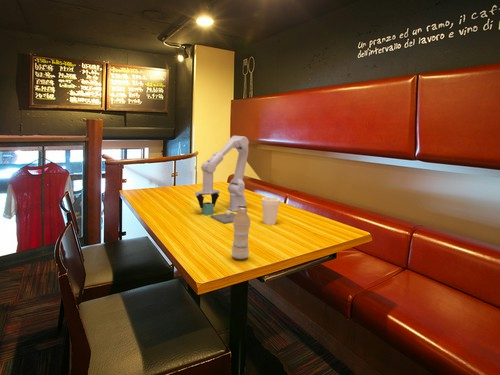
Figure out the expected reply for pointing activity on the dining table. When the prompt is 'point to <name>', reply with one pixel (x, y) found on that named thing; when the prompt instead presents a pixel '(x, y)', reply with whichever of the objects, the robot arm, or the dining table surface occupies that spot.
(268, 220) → the foam cup
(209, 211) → the sleeve
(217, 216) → the stub board
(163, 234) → the dining table surface
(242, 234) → the plastic bottle
